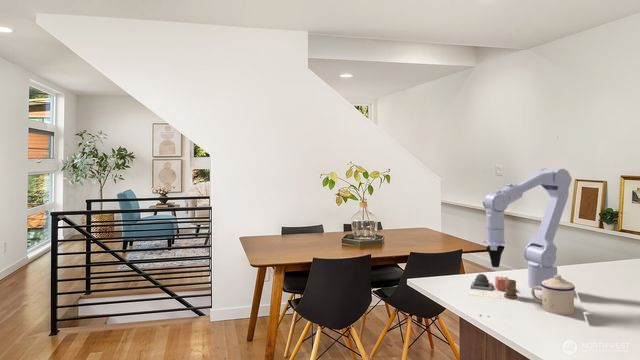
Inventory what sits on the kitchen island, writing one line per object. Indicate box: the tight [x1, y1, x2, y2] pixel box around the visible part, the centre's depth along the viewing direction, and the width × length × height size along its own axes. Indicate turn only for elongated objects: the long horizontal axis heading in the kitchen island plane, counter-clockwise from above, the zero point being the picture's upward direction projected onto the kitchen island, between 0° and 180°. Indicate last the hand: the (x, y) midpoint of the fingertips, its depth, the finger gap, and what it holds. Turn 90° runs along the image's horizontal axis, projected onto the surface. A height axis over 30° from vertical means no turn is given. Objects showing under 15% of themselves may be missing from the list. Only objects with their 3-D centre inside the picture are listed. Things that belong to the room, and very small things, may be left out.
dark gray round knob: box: [474, 273, 490, 287], centre depth 157 cm, size 5×5×5 cm
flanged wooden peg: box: [503, 279, 519, 300], centre depth 145 cm, size 4×4×6 cm
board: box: [468, 280, 519, 301], centre depth 151 cm, size 18×18×2 cm
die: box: [494, 276, 510, 292], centre depth 154 cm, size 4×4×4 cm
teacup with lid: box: [531, 274, 576, 316], centre depth 133 cm, size 12×9×12 cm
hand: (495, 266), depth 151 cm, fingers closed
